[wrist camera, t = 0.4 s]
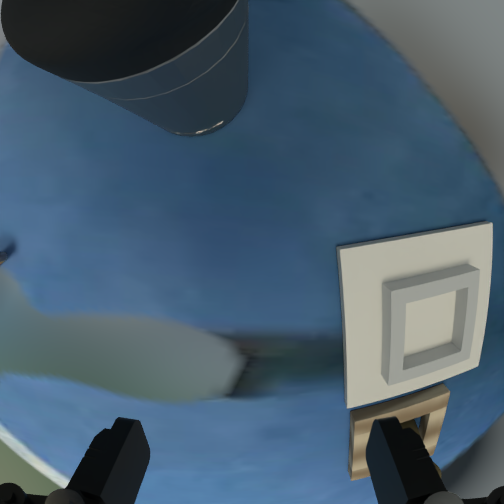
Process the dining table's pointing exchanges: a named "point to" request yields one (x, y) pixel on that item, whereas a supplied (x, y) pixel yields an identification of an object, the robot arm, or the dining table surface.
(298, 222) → the dining table surface
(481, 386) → the dining table surface
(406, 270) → the dock
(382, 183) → the dining table surface
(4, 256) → the mug
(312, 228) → the dining table surface
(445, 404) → the tan square frame
